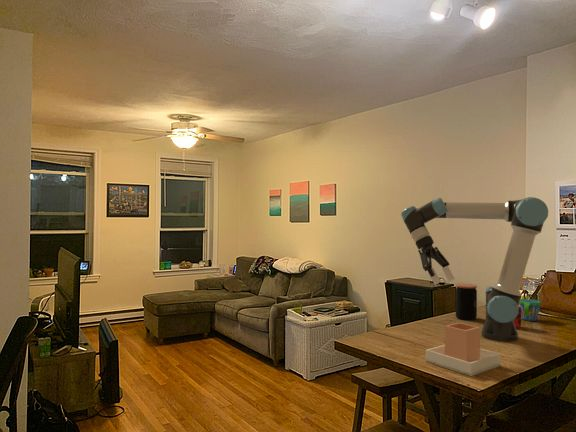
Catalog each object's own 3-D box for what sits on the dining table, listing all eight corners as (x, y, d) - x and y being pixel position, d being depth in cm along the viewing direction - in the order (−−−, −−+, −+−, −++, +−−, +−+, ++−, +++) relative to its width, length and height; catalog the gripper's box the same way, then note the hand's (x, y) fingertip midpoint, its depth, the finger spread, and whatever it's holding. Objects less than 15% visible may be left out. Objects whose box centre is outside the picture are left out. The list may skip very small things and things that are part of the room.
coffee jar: (478, 321, 235) (478, 287, 234) (457, 320, 237) (457, 286, 237) (474, 316, 245) (474, 283, 245) (454, 315, 247) (454, 283, 247)
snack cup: (523, 315, 247) (524, 297, 247) (545, 319, 240) (545, 300, 240) (513, 320, 236) (513, 301, 236) (535, 324, 229) (535, 304, 229)
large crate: (455, 352, 181) (455, 341, 181) (500, 365, 166) (500, 353, 166) (425, 361, 170) (425, 349, 170) (470, 376, 155) (470, 363, 155)
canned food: (500, 325, 227) (500, 303, 227) (515, 324, 227) (515, 303, 227) (508, 328, 219) (509, 306, 219) (524, 328, 220) (524, 306, 220)
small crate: (458, 355, 175) (458, 322, 174) (480, 361, 167) (480, 327, 167) (444, 359, 169) (444, 325, 169) (465, 366, 162) (466, 330, 162)
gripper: (429, 241, 213) (450, 282, 206) (401, 243, 196) (424, 288, 188) (441, 234, 209) (464, 275, 201) (415, 235, 191) (438, 280, 183)
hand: (444, 281), depth 194 cm, fingers open, 13 cm apart
